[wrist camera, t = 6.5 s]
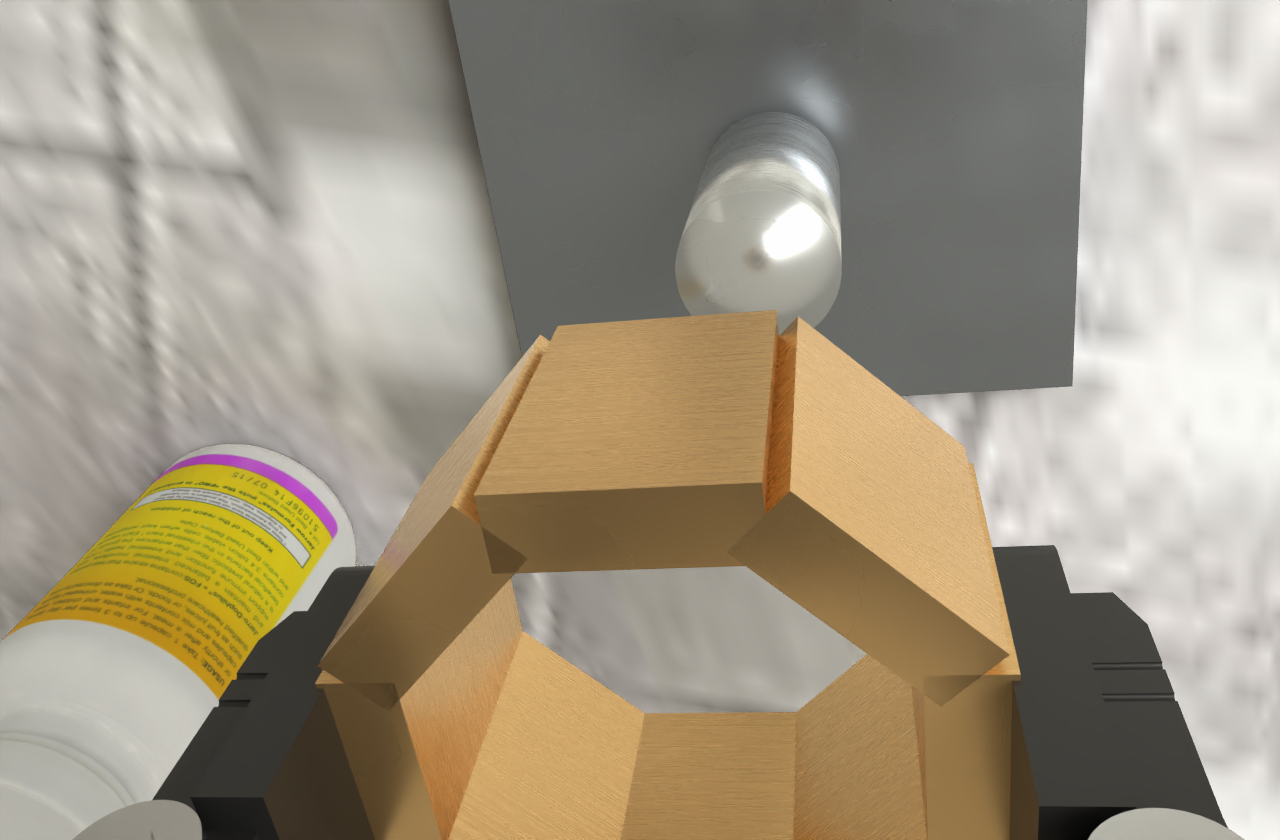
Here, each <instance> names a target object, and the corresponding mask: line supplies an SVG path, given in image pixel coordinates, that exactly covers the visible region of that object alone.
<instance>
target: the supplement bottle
mask: <svg viewBox="0 0 1280 840" xmlns="http://www.w3.org/2000/svg"><path fill="white" fill-rule="evenodd" d="M355 563H356V543H355V538H354V532H353V529H352V526H351V523H350V521H349V518H348V516H347V514H346V512H345V510H344V508H343V506H342V505H341V503H340V502H339V500H338V499H337V497H336V496H335V495H334V493H333V492H332V491H331V490H330V489H329V488H328V486H327V485H326V484H325V483H324V482H323V481H322V480H320V479H319V478H318V477H317V476H316V475H315V474H313V473H312V472H311V471H310V470H308V469H307V468H306V467H304V466H302V465H301V464H299V463H297V462H296V461H294V460H292V459H290V458H288V457H286V456H284V455H282V454H280V453H277V452H274V451H271V450H268V449H265V448H262V447H258V446H253V445H246V444H221V445H213V446H208V447H204V448H201V449H198V450H196V451H193V452H191V453H188V454H187V455H185V456H183V457H181V458H180V459H178V460H177V461H176V462H174V463H173V464H172V465H171V466H170V467H169V468H168V469H166V470H165V471H164V473H163V474H162V475H161V476H159V477H158V478H157V479H156V480H155V481H154V482H153V483H152V484H151V486H150V487H149V488H148V489H147V490H146V491H145V492H144V493H143V494H142V495H141V496H140V497H139V498H138V499H137V500H136V501H135V502H134V503H133V505H132V506H131V507H130V508H129V509H128V510H127V511H126V512H125V513H124V514H123V515H122V516H121V517H120V518H119V519H118V520H117V521H116V522H115V523H114V524H113V526H112V527H111V528H110V529H109V530H108V531H107V532H106V533H105V534H104V535H103V536H102V537H101V538H100V539H99V540H98V541H97V542H96V543H95V545H94V546H93V547H92V548H91V549H90V550H89V551H88V552H87V553H86V554H85V555H84V556H83V557H82V558H81V559H80V560H79V562H78V563H77V564H76V565H75V566H74V567H73V568H72V569H71V570H70V571H69V572H68V573H67V574H66V575H65V576H64V577H63V578H62V579H61V580H60V582H59V583H58V584H57V585H56V586H55V587H54V588H53V589H52V590H51V591H50V592H49V593H48V594H47V595H46V596H45V597H44V598H43V599H42V600H41V601H40V602H39V603H38V604H37V605H36V606H35V607H34V608H33V609H32V610H31V611H30V612H29V613H28V614H27V615H26V616H25V617H24V618H23V619H22V620H21V622H20V623H19V624H18V625H17V626H16V627H15V628H14V629H13V630H12V631H11V632H10V633H9V634H8V635H7V636H6V637H5V638H4V639H3V640H2V641H1V642H0V840H73V839H74V838H75V837H76V836H77V835H78V834H79V833H81V832H82V831H83V830H84V829H86V828H87V827H88V826H90V825H91V824H93V823H94V822H96V821H97V820H99V819H101V818H102V817H104V816H106V815H108V814H110V813H112V812H114V811H116V810H119V809H121V808H124V807H126V806H129V805H133V804H136V803H140V802H145V801H151V800H152V799H153V798H154V796H155V795H156V793H157V792H158V790H159V789H160V787H161V786H162V784H163V783H164V781H165V780H166V778H167V777H168V775H169V774H170V772H171V771H172V769H173V768H174V766H175V765H176V763H177V762H178V760H179V759H180V757H181V756H182V754H183V753H184V751H185V750H186V748H187V747H188V745H189V744H190V742H191V741H192V739H193V738H194V736H195V735H196V733H197V732H198V730H199V729H200V727H201V726H202V724H203V723H204V721H205V720H206V718H207V717H208V715H209V714H210V712H211V711H212V709H213V708H214V707H218V706H219V699H220V697H221V696H222V694H223V693H224V691H225V690H226V688H227V687H228V685H229V684H230V682H231V681H232V680H236V678H237V672H238V670H239V669H240V667H241V666H242V664H243V663H244V661H245V660H246V658H247V657H248V655H249V654H250V652H251V651H252V649H253V648H254V646H255V645H256V643H257V642H258V640H259V639H261V638H262V637H263V636H264V635H266V634H267V633H268V632H269V631H271V630H272V629H273V628H274V627H275V626H277V625H278V624H279V623H280V622H282V621H283V620H284V619H285V618H286V617H288V616H289V615H290V614H291V613H293V612H294V611H308V609H309V608H310V606H311V604H312V603H313V601H314V600H315V598H316V597H317V595H318V593H319V592H320V590H321V589H322V587H323V585H324V584H325V582H326V581H327V579H328V578H329V576H330V575H331V573H332V572H333V571H334V570H335V569H336V568H339V567H355Z"/></svg>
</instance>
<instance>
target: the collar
mask: <svg viewBox="0 0 1280 840" xmlns="http://www.w3.org/2000/svg"><path fill="white" fill-rule="evenodd" d="M726 566H747V567H748V568H749V569H751V570H752V571H753V572H755V573H756V574H758V575H759V576H760V577H762V578H763V579H765V580H766V581H767V582H769V583H770V584H771V585H773V586H774V587H776V588H777V589H778V590H780V591H781V592H783V593H784V594H785V595H787V596H788V597H789V598H791V599H792V600H794V601H795V602H796V603H798V604H799V605H801V606H802V607H803V608H805V609H806V610H807V611H809V612H810V613H812V614H813V615H814V616H816V617H817V618H819V619H820V620H821V621H823V622H824V623H825V624H827V625H828V626H830V627H831V628H832V629H834V630H835V631H837V632H838V633H839V634H841V635H842V636H844V637H845V638H846V639H848V640H849V641H850V642H852V643H853V644H855V645H856V646H857V647H859V648H860V649H862V650H863V651H864V652H866V653H867V655H865V656H864V657H863V658H862V659H861V660H859V661H858V662H857V663H856V664H854V665H853V666H852V667H851V668H850V669H848V670H847V671H846V672H845V673H844V674H842V675H841V676H840V677H839V678H838V679H836V680H835V681H834V682H833V683H831V684H830V685H829V686H828V687H827V688H825V689H824V690H823V691H822V692H821V693H819V694H818V695H817V696H816V697H814V698H813V699H812V700H811V701H810V702H808V703H807V704H806V705H805V706H804V707H802V708H801V709H800V710H799V711H797V712H772V713H643V712H642V711H640V710H639V709H637V708H636V707H634V706H633V705H631V704H630V703H629V702H627V701H626V700H624V699H623V698H621V697H620V696H618V695H617V694H615V693H614V692H612V691H611V690H609V689H608V688H606V687H605V686H603V685H602V684H600V683H599V682H597V681H596V680H594V679H593V678H591V677H590V676H589V675H587V674H586V673H584V672H583V671H581V670H580V669H578V668H577V667H575V666H574V665H572V664H571V663H569V662H568V661H566V660H565V659H563V658H562V657H560V656H559V655H557V654H556V653H554V652H553V651H551V650H550V649H548V648H547V647H546V646H544V645H543V644H541V643H540V642H538V641H537V640H535V639H534V638H532V637H531V636H529V635H528V634H526V633H525V632H523V630H522V626H521V621H520V617H519V613H518V608H517V604H516V600H515V595H514V591H513V587H512V582H511V577H512V576H513V575H514V574H515V573H536V572H568V571H600V570H631V569H663V568H695V567H726ZM318 667H320V668H321V669H323V670H322V672H321V674H320V676H319V677H318V679H317V681H316V683H315V686H316V689H324V691H325V694H326V697H327V700H328V703H329V705H330V708H331V711H332V714H333V717H334V720H335V723H336V726H337V729H338V732H339V735H340V738H341V741H342V744H343V747H344V750H345V753H346V755H347V758H348V761H349V764H350V767H351V770H352V773H353V776H354V779H355V782H356V785H357V788H358V791H359V794H360V797H361V800H362V802H363V805H364V808H365V811H366V814H367V817H368V820H369V823H370V826H371V829H372V832H373V835H374V838H375V840H1009V839H1010V782H1011V724H1012V681H1021V674H1020V669H1019V665H1018V660H1017V656H1016V651H1015V647H1014V643H1013V638H1012V634H1011V629H1010V625H1009V620H1008V616H1007V611H1006V607H1005V603H1004V598H1003V594H1002V589H1001V585H1000V580H999V576H998V572H997V567H996V563H995V558H994V554H993V549H992V545H991V541H990V536H989V532H988V527H987V523H986V518H985V514H984V510H983V505H982V501H981V496H980V492H979V487H978V483H977V479H976V474H975V470H974V465H973V463H968V460H967V455H966V451H965V447H964V446H963V445H962V444H960V443H959V442H958V441H957V440H955V439H954V438H953V437H951V436H950V435H949V434H948V433H946V432H945V431H944V430H943V429H941V428H940V427H939V426H937V425H936V424H935V423H934V422H932V421H931V420H930V419H929V418H927V417H926V416H925V415H923V414H922V413H921V412H920V411H918V410H917V409H916V408H915V407H913V406H912V405H911V404H909V403H908V402H907V401H906V400H904V399H903V398H902V397H901V396H899V395H898V394H897V393H895V392H894V391H893V390H892V389H890V388H889V387H888V386H886V385H885V384H884V383H883V382H881V381H880V380H879V379H878V378H876V377H875V376H874V375H872V374H871V373H870V372H869V371H867V370H866V369H865V368H864V367H862V366H861V365H860V364H858V363H857V362H856V361H855V360H853V359H852V358H851V357H850V356H848V355H847V354H846V353H844V352H843V351H842V350H841V349H839V348H838V347H837V346H836V345H834V344H833V343H832V342H830V341H829V340H828V339H827V338H825V337H824V336H823V335H822V334H820V333H819V332H818V331H816V330H815V329H814V328H813V327H811V326H810V325H809V324H808V323H806V322H805V321H804V320H802V319H801V318H800V317H799V316H798V317H797V318H796V319H795V320H794V321H793V322H792V323H791V324H790V325H789V326H788V327H787V328H786V329H785V330H784V332H783V333H782V334H781V335H780V336H779V326H778V315H777V310H768V311H754V312H740V313H727V314H713V315H699V316H685V317H672V318H658V319H644V320H631V321H617V322H603V323H589V324H576V325H562V326H558V327H557V329H556V331H555V333H554V335H553V337H552V339H551V341H549V340H547V339H546V338H544V337H543V336H542V335H540V336H539V337H538V338H537V339H536V341H535V342H534V343H533V344H532V346H531V347H530V348H529V349H528V351H527V352H526V353H525V354H524V356H523V357H522V358H521V359H520V361H519V362H518V363H517V364H516V366H515V367H514V368H513V369H512V371H511V372H510V373H509V374H508V376H507V377H506V378H505V379H504V380H503V382H502V383H501V384H500V385H499V387H498V388H497V389H496V390H495V392H494V393H493V394H492V395H491V397H490V398H489V399H488V400H487V402H486V403H485V404H484V405H483V407H482V408H481V409H480V410H479V412H478V413H477V414H476V415H475V417H474V418H473V419H472V420H471V422H470V423H469V424H468V425H467V427H466V428H465V429H464V430H463V432H462V433H461V434H460V435H459V437H458V438H457V439H456V440H455V441H454V443H453V444H452V445H451V446H450V448H449V449H448V450H447V451H446V453H445V454H444V455H443V456H442V458H441V459H440V460H439V461H438V463H437V464H436V465H435V466H434V468H433V469H432V470H431V471H430V473H429V474H428V476H427V478H426V479H425V481H424V483H423V484H422V486H421V488H420V490H419V491H418V493H417V495H416V497H415V498H414V500H413V502H412V503H411V505H410V507H409V509H408V510H407V512H406V514H405V516H404V517H403V519H402V521H401V523H400V524H399V526H398V528H397V529H396V531H395V533H394V535H393V536H392V538H391V540H390V542H389V543H388V545H387V547H386V548H385V550H384V552H383V554H382V555H381V557H380V559H379V561H378V562H377V564H376V566H375V567H374V569H373V571H372V573H371V574H370V576H369V578H368V580H367V581H366V583H365V585H364V586H363V588H362V590H361V592H360V593H359V595H358V597H357V599H356V600H355V602H354V604H353V606H352V607H351V609H350V611H349V612H348V614H347V616H346V618H345V619H344V621H343V623H342V625H341V626H340V628H339V630H338V631H337V633H336V635H335V637H334V638H333V640H332V642H331V644H330V645H329V647H328V649H327V650H326V652H325V654H324V656H323V657H322V659H321V661H320V663H319V664H318Z"/></svg>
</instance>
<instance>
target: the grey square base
mask: <svg viewBox="0 0 1280 840" xmlns="http://www.w3.org/2000/svg"><path fill="white" fill-rule="evenodd" d="M448 1H449V5H450V10H451V15H452V20H453V25H454V29H455V34H456V39H457V44H458V49H459V54H460V58H461V63H462V68H463V73H464V78H465V83H466V87H467V92H468V97H469V102H470V107H471V112H472V116H473V121H474V126H475V131H476V136H477V141H478V145H479V150H480V155H481V160H482V165H483V170H484V174H485V179H486V184H487V189H488V194H489V198H490V203H491V208H492V213H493V218H494V223H495V227H496V232H497V237H498V242H499V247H500V252H501V256H502V261H503V266H504V271H505V276H506V281H507V285H508V290H509V295H510V300H511V305H512V310H513V314H514V319H515V324H516V329H517V334H518V338H519V343H520V348H521V353H522V357H523V356H524V354H525V353H526V352H527V351H528V349H529V348H530V347H531V346H532V344H533V343H534V342H535V341H536V339H537V338H538V337H539V336H540V335H542V336H543V337H544V338H546V339H547V340H549V341H551V339H552V337H553V335H554V333H555V331H556V329H557V327H558V326H562V325H576V324H589V323H603V322H617V321H631V320H644V319H658V318H672V317H685V316H699V315H713V314H727V313H740V312H754V311H768V310H777V315H778V326H779V336H780V335H781V334H782V333H783V332H784V330H785V329H786V328H787V327H788V326H789V325H790V324H791V323H792V322H793V321H794V320H795V319H796V318H797V317H798V316H799V317H800V318H801V319H802V320H804V321H805V322H806V323H808V324H809V325H810V326H811V327H813V328H814V329H815V330H816V331H818V332H819V333H820V334H822V335H823V336H824V337H825V338H827V339H828V340H829V341H830V342H832V343H833V344H834V345H836V346H837V347H838V348H839V349H841V350H842V351H843V352H844V353H846V354H847V355H848V356H850V357H851V358H852V359H853V360H855V361H856V362H857V363H858V364H860V365H861V366H862V367H864V368H865V369H866V370H867V371H869V372H870V373H871V374H872V375H874V376H875V377H876V378H878V379H879V380H880V381H881V382H883V383H884V384H885V385H886V386H888V387H889V388H890V389H892V390H893V391H894V392H895V393H897V394H898V395H899V396H909V395H927V394H944V393H962V392H980V391H997V390H1015V389H1033V388H1050V387H1068V386H1072V380H1073V355H1074V329H1075V303H1076V278H1077V252H1078V226H1079V201H1080V175H1081V150H1082V124H1083V98H1084V73H1085V47H1086V21H1087V0H448Z"/></svg>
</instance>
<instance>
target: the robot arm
mask: <svg viewBox="0 0 1280 840" xmlns="http://www.w3.org/2000/svg"><path fill="white" fill-rule="evenodd" d="M992 549H993V554H994V558H995V563H996V567H997V572H998V576H999V580H1000V585H1001V589H1002V594H1003V598H1004V603H1005V607H1006V611H1007V616H1008V620H1009V625H1010V629H1011V634H1012V638H1013V643H1014V647H1015V651H1016V656H1017V660H1018V665H1019V669H1020V674H1021V681H1012V724H1011V782H1010V839H1009V840H1244V839H1243V838H1241V837H1240V836H1239V835H1237V834H1236V833H1234V832H1233V831H1232V830H1230V829H1228V827H1227V825H1226V823H1225V821H1224V819H1223V817H1222V814H1221V812H1220V809H1219V807H1218V804H1217V801H1216V799H1215V796H1214V794H1213V791H1212V789H1211V786H1210V783H1209V781H1208V778H1207V776H1206V773H1205V771H1204V768H1203V766H1202V763H1201V760H1200V758H1199V755H1198V753H1197V750H1196V748H1195V745H1194V743H1193V740H1192V737H1191V735H1190V732H1189V730H1188V727H1187V725H1186V722H1185V720H1184V717H1183V714H1182V712H1181V709H1180V707H1179V704H1178V702H1177V701H1175V699H1174V691H1173V689H1172V686H1171V684H1170V681H1169V679H1168V676H1167V673H1166V671H1165V669H1163V668H1162V661H1161V658H1160V656H1159V653H1158V650H1157V648H1156V645H1155V643H1154V640H1153V638H1152V635H1151V632H1150V630H1149V627H1148V625H1147V624H1146V623H1145V622H1144V621H1143V620H1142V619H1141V618H1140V617H1139V616H1138V615H1137V614H1136V613H1134V612H1133V611H1132V610H1131V609H1130V608H1129V607H1128V606H1127V605H1126V604H1125V603H1124V602H1123V601H1122V600H1120V599H1119V598H1118V597H1117V596H1116V595H1115V594H1114V593H1113V592H1112V593H1071V594H1070V590H1069V587H1068V584H1067V581H1066V577H1065V574H1064V571H1063V568H1062V564H1061V561H1060V558H1059V555H1058V552H1057V549H1056V547H1055V546H1054V545H1048V546H1017V547H992ZM374 567H375V566H356V567H339V568H336V569H335V570H334V571H333V572H332V573H331V575H330V576H329V578H328V579H327V581H326V582H325V584H324V585H323V587H322V589H321V590H320V592H319V593H318V595H317V597H316V598H315V600H314V601H313V603H312V604H311V606H310V608H309V609H308V611H294V612H293V613H291V614H290V615H289V616H288V617H286V618H285V619H284V620H283V621H282V622H280V623H279V624H278V625H277V626H275V627H274V628H273V629H272V630H271V631H269V632H268V633H267V634H266V635H264V636H263V637H262V638H261V639H259V640H258V642H257V643H256V645H255V646H254V648H253V649H252V651H251V652H250V654H249V655H248V657H247V658H246V660H245V661H244V663H243V664H242V666H241V667H240V669H239V670H238V672H237V678H236V680H232V681H231V682H230V684H229V685H228V687H227V688H226V690H225V691H224V693H223V694H222V696H221V697H220V699H219V706H218V707H214V708H213V709H212V711H211V712H210V714H209V715H208V717H207V718H206V720H205V721H204V723H203V724H202V726H201V727H200V729H199V730H198V732H197V733H196V735H195V736H194V738H193V739H192V741H191V742H190V744H189V745H188V747H187V748H186V750H185V751H184V753H183V754H182V756H181V757H180V759H179V760H178V762H177V763H176V765H175V766H174V768H173V769H172V771H171V772H170V774H169V775H168V777H167V778H166V780H165V781H164V783H163V784H162V786H161V787H160V789H159V790H158V792H157V793H156V795H155V796H154V798H153V799H152V800H151V801H145V802H140V803H136V804H133V805H129V806H126V807H124V808H121V809H119V810H116V811H114V812H112V813H110V814H108V815H106V816H104V817H102V818H101V819H99V820H97V821H96V822H94V823H93V824H91V825H90V826H88V827H87V828H86V829H84V830H83V831H82V832H81V833H79V834H78V835H77V836H76V837H75V838H74V839H73V840H375V838H374V835H373V832H372V829H371V826H370V823H369V820H368V817H367V814H366V811H365V808H364V805H363V802H362V800H361V797H360V794H359V791H358V788H357V785H356V782H355V779H354V776H353V773H352V770H351V767H350V764H349V761H348V758H347V755H346V753H345V750H344V747H343V744H342V741H341V738H340V735H339V732H338V729H337V726H336V723H335V720H334V717H333V714H332V711H331V708H330V705H329V703H328V700H327V697H326V694H325V691H324V689H316V686H315V683H316V681H317V679H318V677H319V676H320V674H321V672H322V670H323V669H321V668H320V667H318V664H319V663H320V661H321V659H322V657H323V656H324V654H325V652H326V650H327V649H328V647H329V645H330V644H331V642H332V640H333V638H334V637H335V635H336V633H337V631H338V630H339V628H340V626H341V625H342V623H343V621H344V619H345V618H346V616H347V614H348V612H349V611H350V609H351V607H352V606H353V604H354V602H355V600H356V599H357V597H358V595H359V593H360V592H361V590H362V588H363V586H364V585H365V583H366V581H367V580H368V578H369V576H370V574H371V573H372V571H373V569H374Z"/></svg>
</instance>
